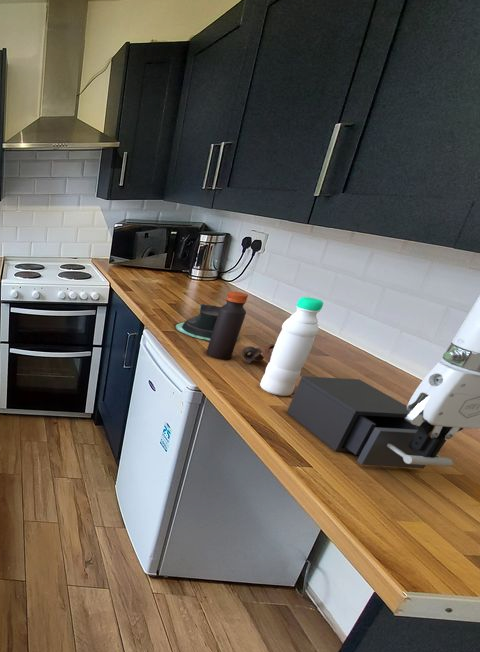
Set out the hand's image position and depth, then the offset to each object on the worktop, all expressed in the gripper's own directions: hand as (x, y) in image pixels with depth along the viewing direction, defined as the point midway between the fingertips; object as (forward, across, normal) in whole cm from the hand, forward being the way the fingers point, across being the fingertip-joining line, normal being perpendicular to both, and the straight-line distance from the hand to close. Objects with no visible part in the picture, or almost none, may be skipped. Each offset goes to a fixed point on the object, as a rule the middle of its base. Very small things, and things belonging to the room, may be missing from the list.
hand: (420, 452), depth 72 cm
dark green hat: (+7, +1, +77) cm, 77 cm away
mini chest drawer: (+6, 0, +7) cm, 9 cm away
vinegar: (+7, -6, +56) cm, 56 cm away
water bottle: (+7, -2, +34) cm, 35 cm away
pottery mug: (+7, +3, +48) cm, 49 cm away
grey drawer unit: (+7, 0, +15) cm, 17 cm away
